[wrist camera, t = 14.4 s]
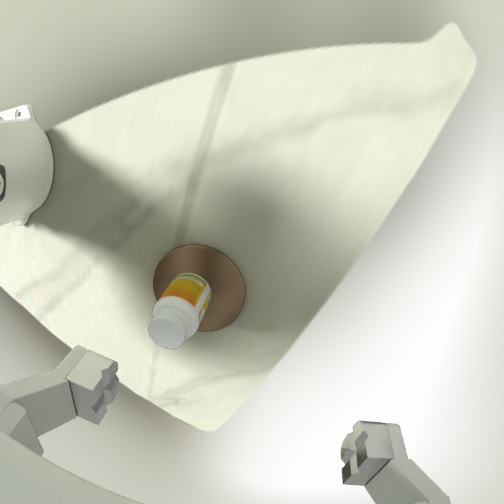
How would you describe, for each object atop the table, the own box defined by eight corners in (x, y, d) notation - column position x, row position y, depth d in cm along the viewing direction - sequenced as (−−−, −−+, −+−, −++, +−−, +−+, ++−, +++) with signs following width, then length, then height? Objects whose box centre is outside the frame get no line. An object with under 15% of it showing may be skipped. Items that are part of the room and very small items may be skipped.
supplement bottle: (164, 278, 41) (132, 318, 31) (201, 266, 39) (175, 305, 30) (183, 313, 42) (157, 358, 33) (219, 303, 41) (199, 349, 32)
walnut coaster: (152, 313, 44) (150, 317, 43) (161, 234, 39) (158, 236, 39) (235, 337, 44) (233, 341, 43) (254, 258, 39) (253, 261, 38)
